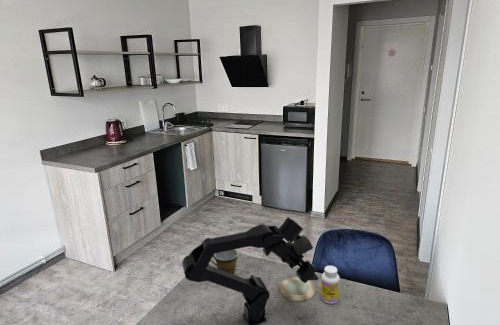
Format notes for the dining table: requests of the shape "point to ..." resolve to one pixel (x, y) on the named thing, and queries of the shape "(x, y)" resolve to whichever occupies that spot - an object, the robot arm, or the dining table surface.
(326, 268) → the supplement bottle
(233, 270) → the ceramic cup
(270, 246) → the robot arm
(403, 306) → the dining table surface
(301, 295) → the round tan coaster
